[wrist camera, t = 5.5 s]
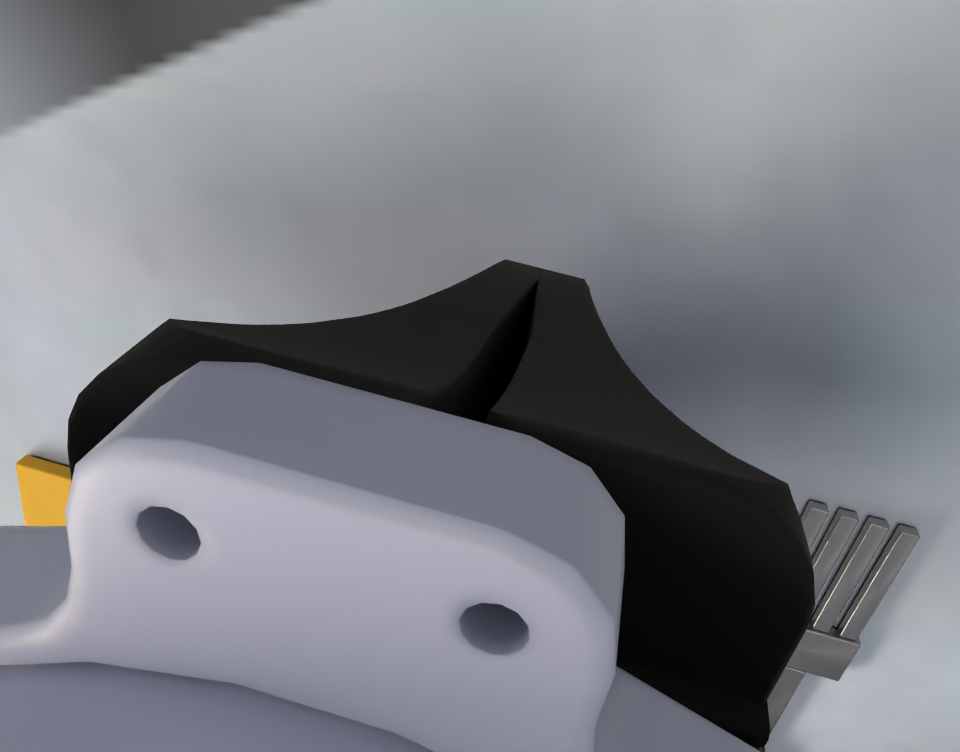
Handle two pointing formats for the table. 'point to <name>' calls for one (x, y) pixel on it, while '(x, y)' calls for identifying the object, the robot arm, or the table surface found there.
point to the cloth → (43, 491)
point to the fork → (840, 596)
